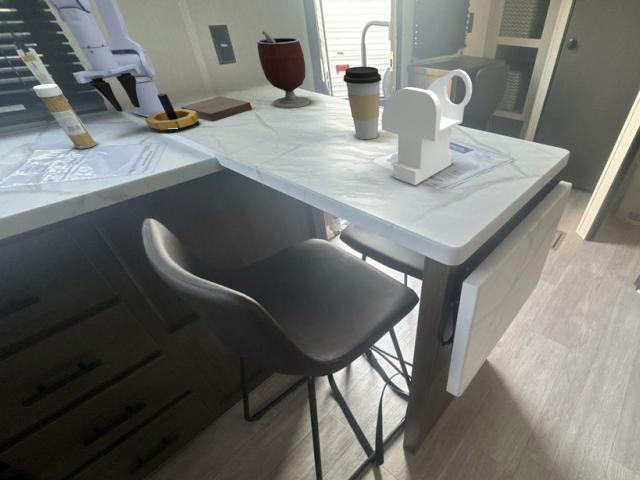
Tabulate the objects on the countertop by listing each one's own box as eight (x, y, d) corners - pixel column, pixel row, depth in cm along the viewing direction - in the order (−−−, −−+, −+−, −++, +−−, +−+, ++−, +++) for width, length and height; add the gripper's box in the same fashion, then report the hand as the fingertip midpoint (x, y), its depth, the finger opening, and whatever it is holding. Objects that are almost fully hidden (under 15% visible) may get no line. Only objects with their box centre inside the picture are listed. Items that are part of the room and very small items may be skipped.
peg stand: (153, 127, 92) (136, 96, 86) (181, 119, 98) (168, 89, 92) (171, 132, 89) (155, 100, 83) (199, 124, 94) (186, 93, 89)
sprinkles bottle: (98, 142, 84) (58, 82, 74) (95, 147, 81) (53, 86, 72) (77, 144, 83) (34, 84, 73) (73, 150, 80) (28, 88, 70)
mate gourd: (281, 97, 116) (263, 25, 101) (317, 98, 114) (304, 25, 100) (262, 109, 105) (240, 30, 91) (302, 110, 104) (285, 31, 89)
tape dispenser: (421, 154, 77) (426, 64, 64) (467, 168, 71) (481, 72, 58) (383, 174, 69) (379, 76, 56) (431, 191, 64) (438, 86, 51)
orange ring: (141, 124, 91) (137, 117, 90) (181, 113, 98) (178, 107, 97) (166, 132, 86) (162, 125, 85) (206, 119, 94) (204, 113, 93)
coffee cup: (389, 132, 88) (387, 67, 77) (373, 144, 82) (369, 75, 71) (360, 128, 91) (354, 64, 80) (343, 138, 85) (334, 71, 74)
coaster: (184, 113, 102) (180, 106, 100) (223, 102, 111) (221, 96, 109) (213, 121, 96) (210, 113, 95) (252, 109, 105) (250, 102, 104)
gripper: (68, 51, 71) (108, 118, 81) (133, 43, 80) (162, 104, 90) (54, 49, 74) (94, 114, 84) (118, 42, 82) (148, 101, 92)
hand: (128, 109), depth 87 cm, fingers open, 4 cm apart
